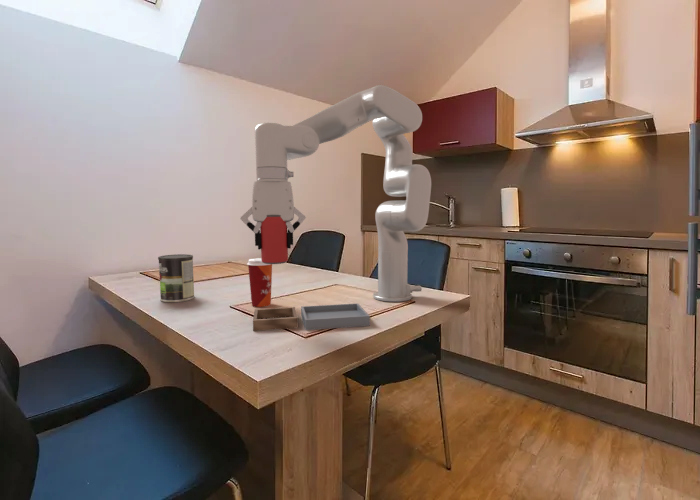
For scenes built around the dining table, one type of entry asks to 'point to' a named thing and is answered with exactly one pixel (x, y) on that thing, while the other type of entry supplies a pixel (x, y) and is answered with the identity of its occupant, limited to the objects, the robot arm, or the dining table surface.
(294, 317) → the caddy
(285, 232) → the beer can
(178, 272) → the coffee can
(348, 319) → the tray
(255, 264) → the paper cup
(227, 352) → the dining table surface
